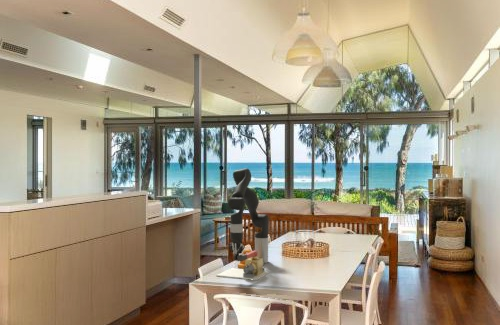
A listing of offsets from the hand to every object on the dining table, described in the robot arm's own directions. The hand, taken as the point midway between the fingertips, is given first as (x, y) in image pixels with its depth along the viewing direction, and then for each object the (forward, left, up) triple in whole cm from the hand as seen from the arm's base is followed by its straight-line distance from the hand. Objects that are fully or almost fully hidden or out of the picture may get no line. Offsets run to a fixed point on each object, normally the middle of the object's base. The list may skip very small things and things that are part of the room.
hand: (236, 260), depth 299 cm
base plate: (-13, -1, -11) cm, 18 cm away
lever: (-6, +5, +1) cm, 7 cm away
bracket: (-31, -6, -12) cm, 34 cm away
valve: (-14, +6, -11) cm, 19 cm away
